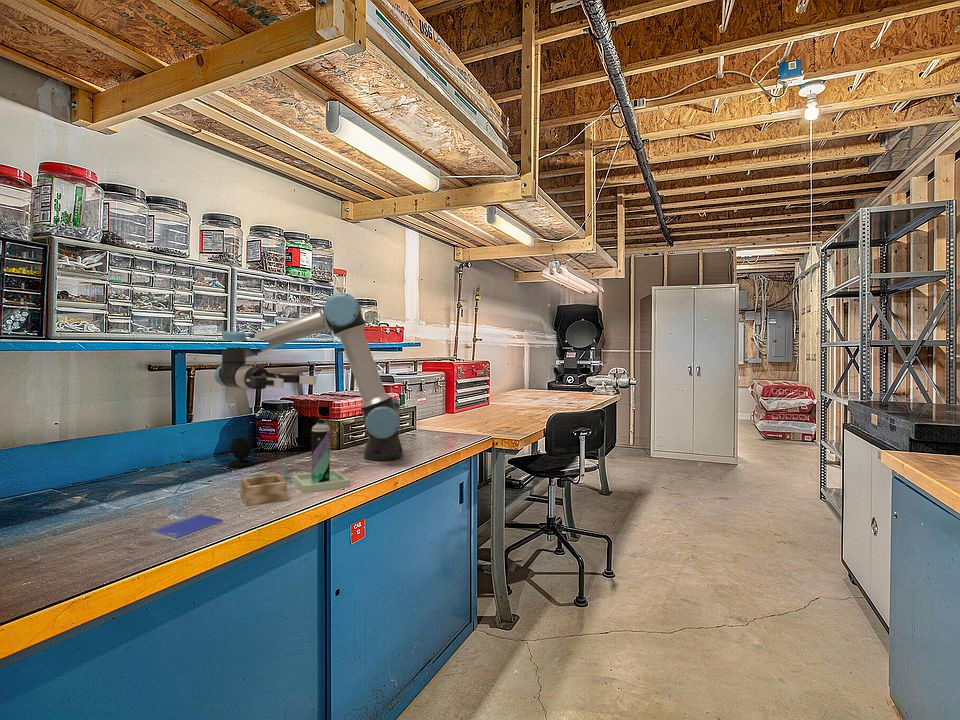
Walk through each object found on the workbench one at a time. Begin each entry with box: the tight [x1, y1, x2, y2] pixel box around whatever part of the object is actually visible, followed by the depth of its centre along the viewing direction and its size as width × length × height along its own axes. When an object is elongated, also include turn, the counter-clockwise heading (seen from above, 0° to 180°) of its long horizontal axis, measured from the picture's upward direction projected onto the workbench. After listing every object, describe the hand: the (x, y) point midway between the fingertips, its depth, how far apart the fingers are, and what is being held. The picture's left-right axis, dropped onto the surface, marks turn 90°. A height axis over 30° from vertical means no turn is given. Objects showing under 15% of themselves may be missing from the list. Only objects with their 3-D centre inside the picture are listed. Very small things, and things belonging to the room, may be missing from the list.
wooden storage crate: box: [240, 473, 288, 507], centre depth 144 cm, size 10×10×5 cm
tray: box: [291, 469, 351, 494], centre depth 159 cm, size 14×14×2 cm
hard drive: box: [150, 514, 224, 542], centre depth 120 cm, size 2×8×12 cm
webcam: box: [228, 436, 253, 469], centre depth 179 cm, size 8×8×10 cm
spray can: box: [310, 418, 331, 484], centre depth 159 cm, size 6×6×20 cm
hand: (299, 381), depth 163 cm, fingers open, 13 cm apart
